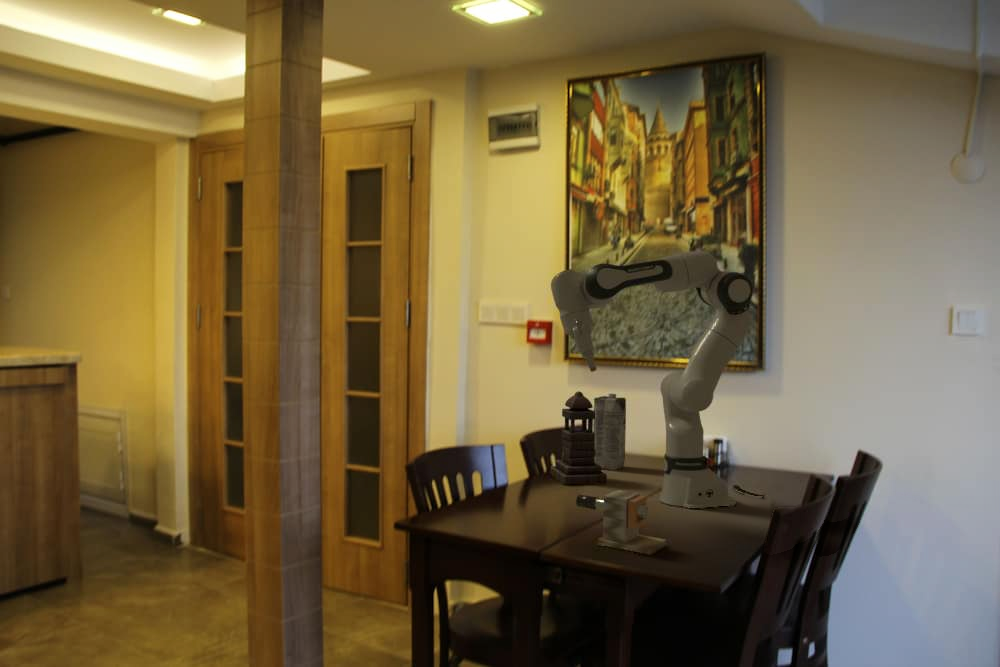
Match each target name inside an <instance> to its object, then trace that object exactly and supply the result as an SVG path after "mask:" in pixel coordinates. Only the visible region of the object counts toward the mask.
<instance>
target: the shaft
mask: <svg viewBox="0 0 1000 667" xmlns="http://www.w3.org/2000/svg"><path fill="white" fill-rule="evenodd" d="M575 504H576V507H579V508H583V509H584V508H585V509H589V510H595V511H596V510H597V511H603V505H604V498H599V497H598V496H591V495H586V494H577V497H576V500H575ZM648 514H649V507H648V506H647V505H646V506H643V505H640V506H638V507H637V516H639V517H644V518H646V519H647V517H648Z"/></svg>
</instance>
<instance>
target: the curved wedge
mask: <svg viewBox="0 0 1000 667" xmlns="http://www.w3.org/2000/svg"><path fill="white" fill-rule="evenodd" d="M732 486H733V487H732V488H733V489H734V488H735V489H737V490H738V491H741V492H743V493H747V494H750V495H754V496H763V495H758V494H754V493H750V492H747V491H745V490H743V489H741V488H740V487H741V486H739V485H736V484H734V485H732Z"/></svg>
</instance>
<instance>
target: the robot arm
mask: <svg viewBox="0 0 1000 667" xmlns="http://www.w3.org/2000/svg"><path fill="white" fill-rule="evenodd" d="M645 285H654V287H655V288H657V290H659V291H660V292H662V293H675V292H677V293H678V292H681V291H686V290H690V289H694V288H695V289H696V291H697V295H698V297H699V298H700V300H701V301H702V302H703V303H704V304H705V305H707V306H710V307H715V313H714V316H713V319H712V321H711V322H710V323H709V325H708V326H707V327H706V329H705V330H704V332H703V333H702V334H701V336H700V338H699V339H698V340H697V342H696V343H695V345H694V346H693V347H692V349H691V353H690V354H691V355H690V356H689V360H688V362H687V364H686V366H685V368H684V370H683V371H674V372H671V373H670V374H667V375H666V376H665V377H664V378H663V379H662V380H661V383H660V393H661V397H662V406H663V414H664V422H665V453H664V456H663V473H664V476H663V483H662V487H661V492H660V496H659V501H660V502H661V503H664V504H666V505H670V506H671V505H672V506H675V507H681V506H682V507H681V508H686V507H687V508H686V509H690V508H693V509H692V510H695V509H694V508H700V509H707V508H706V507H714V508H717V507H716V506H724V505H735V504H737V501H736V499H735V498H733V497H732V496H731V495H729V490H728V486H727V483H726V481H725V480H723V479H722V478H721V477H720V476H719V475H718V474H717V473H715V472H714V471H713V470H711V469H710V468H709V467H712V466H714V465H715V460H714V459H712V458H710V457H709V458H708V457H707V456H705V455H704V435H705V434H704V427H703V425H702V419H701V414H700V412H703V411H705V410H707V409H708V408H709V407H710V406H711V404H712V403H713V401H714V400H713V399H714V392H715V390H716V388H717V386H718V383H719V381H720V378H721V376H722V374H723V372H724V370H725V369H726V368H727V366H728V364H729V363H730V361H731V360H732V358H733V357H734V355H735V354H736V352H737V351H738V349H739V348H740V347H741V345H742V343H743V342H744V340H745V338H746V336H747V334H748V333H749V330H750V328H751V325H752V316H751V315H750V313H749V311H747V310H748V309H749V308H750V305H751V300H752V298H753V295H754V294H753V293H754V287H753V286H754V285H753V283H752V281H751V279H750V278H749V277H748V276H746V275H744V274H743V273H741V272H737V271H726V270H724V271H722V270H720V268H719V267H718V261H717V260H716V258H715V256H714V255H713V253H711V252H709V251H708V250H707V251H706V250H694V251H685V252H680V253H675V254H670V255H667V256H663V257H660V258H657V259H654V260H650V261H643V262H637V263H631V264H625V265H617V264H611V263H597V264H596V265H593V266H592V267H591V268H590V269H589V271H588V272H587V273H584V272H580V271H576V270H574V269H573V268H569V269H564V270H563V271H561V272H559V273H557V274H556V275H554V277H553V278H552V279H551V282H550V289H551V293H552V297H553V301H554V303H555V304H554V305H555V307H556V309H557V310H558V313H559V319H560V322H561V325H562V328H563V331H564V334H565V335H566V336H569V337H570V338H571V339H573V340H574V341H575V344H576V346H577V348H578V351H579V353H580V355H581V356H582V358H583V359H584V360H586V363H587V365H588V366H587V367H588V368H589V370H590V372H592V373H593V372H596V371H597V367H596V362H595V359H594V357H595V356H596V353H595V348H594V343H593V338H592V332H593V330H592V329H593V328H594V326H595V323H594V320H593V317H592V314H591V311H590V310H591V309H593V310H594V309H598V308H603V307H606V305H608V304H610V302H611V300H613V298H614V297H616V295H617V294H618V293H619V292H622V290H624V289H628V288H633V287H638V286H645ZM735 506H736V505H735Z"/></svg>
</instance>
